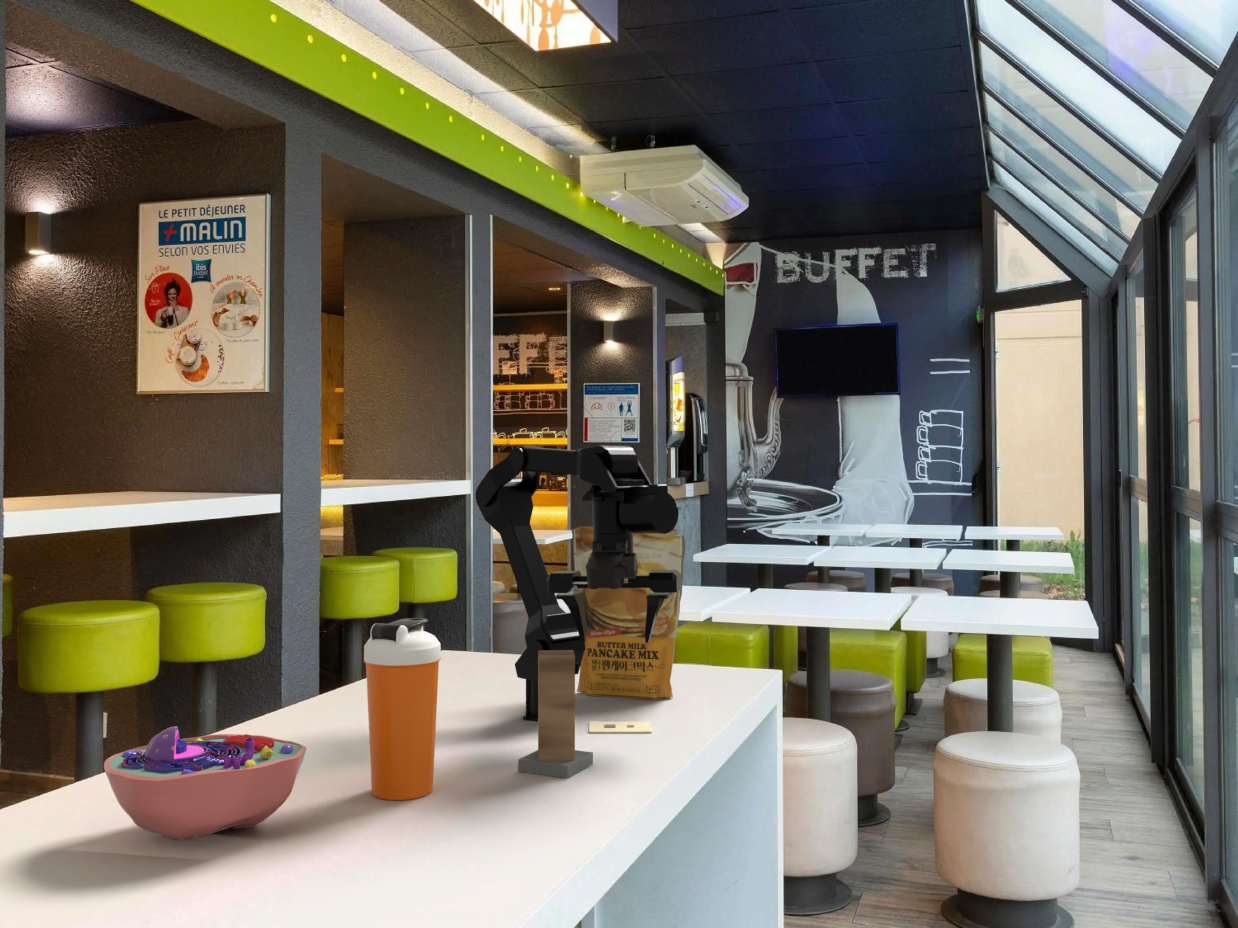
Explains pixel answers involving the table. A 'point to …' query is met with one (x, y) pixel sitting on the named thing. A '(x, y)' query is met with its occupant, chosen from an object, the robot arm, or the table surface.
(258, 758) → the cell model
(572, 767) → the base plate
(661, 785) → the table surface
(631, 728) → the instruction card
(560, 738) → the pillar
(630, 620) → the pancake mix bag
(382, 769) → the shaker bottle
